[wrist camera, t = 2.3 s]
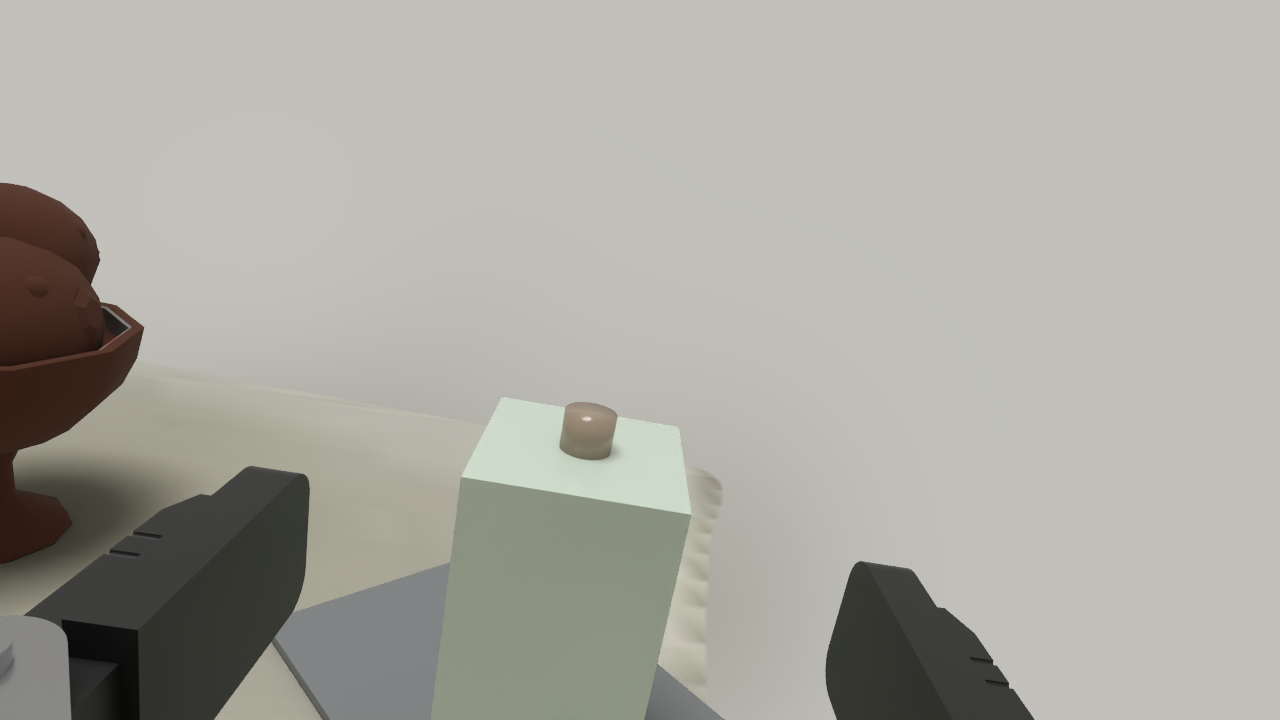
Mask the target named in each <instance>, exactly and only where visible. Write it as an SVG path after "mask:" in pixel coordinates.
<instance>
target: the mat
mask: <svg viewBox="0 0 1280 720" xmlns="http://www.w3.org/2000/svg"><path fill="white" fill-rule="evenodd" d="M449 569H450V563H447V564H444V565H441V566H437V567H434V568H431V569H428V570H425V571H422V572H419V573H416V574H413V575H409V576H406V577H403V578H400V579H397V580H394V581H391V582H388V583H385V584H381V585H378V586H375V587H372V588H369V589H366V590H363V591H360V592H357V593H353V594H350V595H347V596H344V597H341V598H338V599H335V600H332V601H328V602H325V603H322V604H319V605H316V606H313V607H310V608H307V609H304V610H300V611H297V612H294V613H292V614H291V615H290V617H289V618H288V620H287V621H286V622H285V624H284V625H283V626H282V628H281V629H280V630H279V632H278V633H277V634H276V636H275V637H274V638H273V640H272V642H273V644H274V646H275V647H276V649H277V650H278V652H279V653H280V655H281V656H282V658H283V659H284V661H285V662H286V664H287V665H288V667H289V668H290V670H291V671H292V673H293V674H294V676H295V677H296V679H297V680H298V682H299V683H300V685H301V686H302V688H303V689H304V691H305V692H306V694H307V695H308V697H309V698H310V700H311V701H312V703H313V704H314V706H315V707H316V709H317V710H318V712H319V713H320V715H321V717H322V718H323V720H431V712H432V704H433V696H434V688H435V680H436V672H437V664H438V656H439V649H440V641H441V633H442V625H443V617H444V609H445V601H446V593H447V585H448V577H449ZM644 720H724V719H723V718H722V717H720V716H719V715H718V714H717V713H716V712H714V711H713V710H712V709H711V708H710V707H708V706H707V705H706V704H705V703H704V702H702V701H701V700H700V699H699V698H698V697H696V696H695V695H694V694H693V693H692V692H690V691H689V690H688V689H687V688H686V687H684V686H683V685H682V684H681V683H680V682H678V681H677V680H676V679H675V678H674V677H672V676H671V675H670V674H669V673H668V672H666V671H665V670H664V669H663V668H661V667H660V666H659V665H658V664H657V666H656V671H655V675H654V680H653V684H652V688H651V693H650V697H649V701H648V706H647V710H646V714H645V719H644Z"/></svg>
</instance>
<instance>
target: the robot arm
mask: <svg viewBox="0 0 1280 720" xmlns="http://www.w3.org/2000/svg"><path fill="white" fill-rule="evenodd" d="M309 495H310V488H309V481H308V478H307V477H306V475H304V474H300V473H293V472H287V471H280V470H274V469H267V468H261V467H254V466H249V467H246V468H245V469H243V470H242V471H241V472H240V473H239V474H237V475H236V476H235V477H234V478H233V479H231V480H230V481H229V482H228V483H226V484H225V485H224V486H223V487H222V488H220V489H219V490H218V491H217V492H215V493H214V494H213V495H212V496H209V495H202V494H200V495H197V496H195V497H192V498H190V499H187V500H185V501H182V502H180V503H177V504H175V505H172V506H170V507H168V508H165V509H163V510H161V511H159V512H158V513H157V514H156V515H154V516H153V517H152V518H150V519H149V520H148V521H146V522H145V523H144V524H142V525H141V526H140V527H139V528H137V529H136V530H135V531H134V533H133V535H132V536H127V537H125V538H124V539H123V540H122V541H120V542H119V543H118V544H116V545H115V546H114V547H112V548H111V549H110V552H109V554H108V555H107V554H103V555H102V556H101V557H99V558H98V559H97V560H95V561H94V562H93V563H92V564H90V565H89V566H88V567H86V568H85V569H84V570H82V571H81V572H80V573H78V574H77V575H76V576H75V577H73V578H72V579H71V580H69V581H68V582H67V583H65V584H64V585H63V586H61V587H60V588H59V589H58V590H56V591H55V592H54V593H52V594H51V595H50V596H48V597H47V598H46V599H44V600H43V601H42V602H41V603H39V604H38V605H37V606H35V607H34V608H33V609H31V610H30V611H29V612H27V613H26V614H25V615H24V616H0V720H214V719H215V717H216V716H217V714H218V713H219V712H220V710H221V709H222V708H223V706H224V705H225V704H226V702H227V701H228V700H229V698H230V697H231V695H232V694H233V693H234V691H235V690H236V689H237V687H238V686H239V685H240V683H241V682H242V681H243V679H244V678H245V676H246V675H247V674H248V672H249V671H250V670H251V668H252V667H253V666H254V664H255V663H256V662H257V660H258V659H259V657H260V656H261V655H262V653H263V652H264V651H265V649H266V648H267V647H268V645H269V644H270V643H271V641H272V640H273V638H274V637H275V636H276V634H277V633H278V632H279V630H280V629H281V628H282V626H283V625H284V624H285V622H286V621H287V620H288V618H289V617H290V615H291V614H292V612H293V610H294V608H295V606H296V604H297V601H298V599H299V596H300V593H301V590H302V586H303V582H304V577H305V568H306V550H307V532H308V513H309ZM826 685H827V691H828V695H829V698H830V701H831V704H832V707H833V710H834V713H835V715H836V718H837V720H1034V718H1033V717H1032V715H1031V714H1030V712H1029V711H1028V710H1027V708H1026V707H1025V705H1024V704H1023V703H1022V701H1021V700H1020V698H1019V697H1018V695H1017V694H1016V692H1015V691H1014V690H1013V689H1009V682H1008V681H1007V679H1006V678H1005V677H1004V675H1003V674H1002V672H1001V671H1000V670H999V668H998V667H997V666H994V665H993V659H992V658H991V656H990V655H989V654H988V652H987V651H986V649H985V648H984V646H983V645H982V643H981V642H980V641H979V639H978V638H977V636H976V635H975V633H973V632H972V631H971V630H970V629H969V628H967V627H966V626H965V625H964V624H963V623H961V622H960V621H959V620H958V619H957V618H956V617H954V616H953V615H952V614H951V613H950V612H948V611H947V610H946V609H945V608H938V607H936V605H935V603H934V602H933V601H932V599H931V597H930V596H929V594H928V593H927V591H926V590H925V588H924V587H923V585H922V584H921V582H920V581H919V579H918V577H917V576H916V575H915V573H914V572H913V571H912V570H910V569H908V568H901V567H895V566H888V565H881V564H875V563H869V562H862V561H860V562H858V563H856V564H855V565H854V567H853V568H852V571H851V573H850V576H849V579H848V582H847V586H846V589H845V592H844V596H843V599H842V603H841V606H840V610H839V613H838V617H837V620H836V624H835V627H834V630H833V634H832V637H831V641H830V644H829V648H828V652H827V658H826Z"/></svg>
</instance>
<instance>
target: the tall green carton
mask: <svg viewBox="0 0 1280 720" xmlns="http://www.w3.org/2000/svg"><path fill="white" fill-rule="evenodd" d="M690 519H691V508H690V502H689V495H688V488H687V481H686V474H685V467H684V460H683V454H682V447H681V440H680V433H679V428H678V427H674V426H668V425H662V424H657V423H651V422H646V421H640V420H634V419H628V418H622V417H618V416H617V414H616V413H615V412H614V411H613V410H611V409H610V408H608V407H605V406H602V405H599V404H593V403H586V402H577V403H572V404H569V405H567V406H566V408H564V407H558V406H552V405H546V404H541V403H534V402H529V401H523V400H517V399H511V398H505V397H502V398H501V400H500V402H499V404H498V406H497V408H496V410H495V412H494V414H493V416H492V418H491V420H490V422H489V424H488V426H487V428H486V429H485V431H484V433H483V435H482V437H481V439H480V441H479V443H478V445H477V447H476V449H475V451H474V453H473V455H472V457H471V459H470V461H469V462H468V464H467V466H466V468H465V470H464V472H463V474H462V476H461V482H460V490H459V498H458V505H457V513H456V521H455V529H454V537H453V545H452V553H451V561H450V569H449V577H448V585H447V593H446V601H445V609H444V617H443V625H442V633H441V641H440V649H439V656H438V664H437V672H436V680H435V688H434V696H433V704H432V712H431V720H644V719H645V714H646V710H647V706H648V701H649V697H650V693H651V688H652V684H653V680H654V675H655V671H656V666H657V662H658V658H659V653H660V649H661V645H662V640H663V636H664V632H665V627H666V623H667V619H668V614H669V610H670V606H671V601H672V597H673V593H674V588H675V584H676V579H677V575H678V571H679V566H680V562H681V558H682V553H683V549H684V545H685V540H686V536H687V532H688V527H689V523H690Z"/></svg>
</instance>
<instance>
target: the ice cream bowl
mask: <svg viewBox="0 0 1280 720" xmlns="http://www.w3.org/2000/svg"><path fill="white" fill-rule="evenodd" d="M99 262H100V258H99V251H98V248H97V245H96V240H95V238H94V236H93V235H92V234H91V232H90V231H89V229H88V227H87V226H86V224H85V223H84V221H83V220H82V219H81V218H80V217H79V216H78V215H76V214H75V213H74V212H73V211H71V210H70V209H69V208H68V207H66V206H65V205H64V204H63V203H61V202H60V201H57V200H55V199H53V198H51V197H49V196H47V195H44V194H42V193H40V192H38V191H36V190H33V189H31V188H28V187H26V186H20V185H14V184H8V183H0V563H3V562H9V561H12V560H14V559H17V558H19V557H22V556H25V555H27V554H30V553H32V552H35V551H37V550H40V549H42V548H45V547H47V546H50V545H52V544H54V543H55V542H56V541H57V540H58V539H59V537H60V536H61V535H62V534H63V533H64V532H65V531H66V529H67V528H68V527H69V526H70V525H71V524H72V522H71V520H70V518H69V516H68V514H67V512H66V511H65V509H64V508H63V506H62V505H61V504H60V502H59V501H58V499H57V498H56V497H51V496H46V495H41V494H36V493H31V492H26V491H21V490H16V489H15V482H14V473H13V464H12V462H13V460H14V458H15V456H16V454H17V452H18V450H20V449H24V448H27V447H31V446H34V445H38V444H42V443H44V442H46V441H48V440H50V439H52V438H54V437H56V436H58V435H60V434H62V433H64V432H66V431H68V430H69V429H71V428H72V427H73V426H74V425H75V424H77V423H78V422H79V421H80V420H81V419H82V418H84V417H85V416H86V415H87V414H88V413H90V412H91V411H92V410H93V409H94V408H95V407H97V406H98V405H99V404H100V403H101V402H102V401H103V400H104V399H106V398H107V397H108V396H109V395H110V394H111V393H112V392H114V391H115V390H116V389H117V388H118V387H119V386H120V385H122V383H123V382H124V380H125V378H126V376H127V375H128V373H129V371H130V369H131V368H132V366H133V364H134V362H135V361H136V359H137V356H138V351H139V346H140V343H141V339H142V334H143V330H144V327H143V326H142V325H141V324H139V323H138V322H137V321H136V320H134V319H133V318H132V317H130V316H129V315H128V314H127V313H125V312H124V311H123V310H122V309H120V308H119V307H118V306H116V305H112V304H107V303H102V302H100V300H99V297H98V296H97V294H96V293H95V291H94V289H93V288H92V286H91V283H92V280H93V278H94V275H95V272H96V270H97V267H98V265H99Z"/></svg>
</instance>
